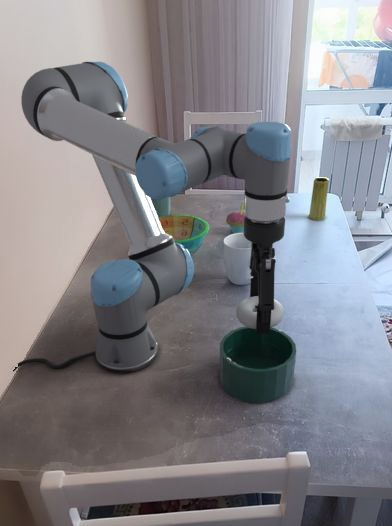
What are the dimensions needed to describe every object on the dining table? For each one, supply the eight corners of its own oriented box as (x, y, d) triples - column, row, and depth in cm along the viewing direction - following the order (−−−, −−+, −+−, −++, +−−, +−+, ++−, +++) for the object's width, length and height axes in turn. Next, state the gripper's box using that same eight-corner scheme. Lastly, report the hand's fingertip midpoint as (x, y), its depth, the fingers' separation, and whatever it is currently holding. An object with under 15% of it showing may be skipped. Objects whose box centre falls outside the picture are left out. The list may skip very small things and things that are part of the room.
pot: (248, 413, 102) (249, 381, 97) (206, 371, 114) (205, 341, 108) (307, 384, 109) (312, 353, 103) (262, 347, 120) (264, 317, 115)
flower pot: (125, 214, 193) (120, 173, 183) (157, 203, 201) (154, 163, 192) (151, 225, 183) (147, 183, 173) (183, 213, 191) (181, 172, 182)
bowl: (171, 278, 150) (169, 249, 144) (130, 255, 163) (126, 227, 157) (223, 255, 161) (223, 227, 155) (180, 235, 175) (179, 209, 169)
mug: (275, 287, 144) (278, 246, 136) (245, 298, 139) (247, 257, 131) (244, 268, 154) (245, 229, 146) (216, 278, 149) (215, 238, 141)
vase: (326, 220, 182) (331, 182, 173) (310, 220, 182) (314, 182, 173) (323, 213, 186) (328, 176, 178) (307, 214, 187) (311, 177, 178)
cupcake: (253, 229, 177) (254, 197, 170) (242, 238, 172) (243, 205, 164) (233, 225, 181) (233, 193, 174) (221, 233, 175) (221, 201, 168)
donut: (227, 325, 100) (272, 337, 96) (227, 311, 98) (273, 323, 94) (247, 302, 107) (290, 312, 103) (247, 289, 105) (291, 298, 101)
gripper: (297, 241, 79) (286, 349, 92) (275, 193, 97) (269, 290, 110) (251, 243, 79) (247, 351, 92) (238, 195, 97) (236, 291, 110)
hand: (259, 318), depth 101 cm, fingers closed on donut, 10 cm apart
